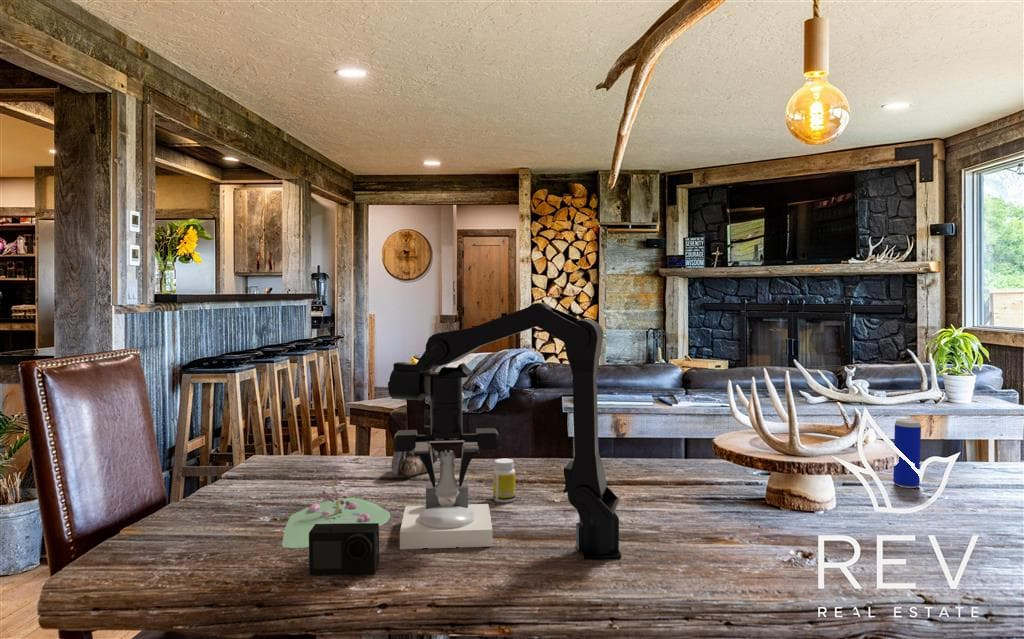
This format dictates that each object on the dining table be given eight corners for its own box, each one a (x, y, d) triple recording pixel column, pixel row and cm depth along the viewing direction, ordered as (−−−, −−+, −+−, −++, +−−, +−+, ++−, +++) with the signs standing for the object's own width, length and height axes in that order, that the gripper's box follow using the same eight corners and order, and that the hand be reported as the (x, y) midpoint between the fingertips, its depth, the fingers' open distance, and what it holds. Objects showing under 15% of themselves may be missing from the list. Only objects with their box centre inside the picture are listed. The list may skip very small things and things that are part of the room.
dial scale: (488, 519, 132) (488, 483, 132) (492, 546, 118) (492, 506, 118) (405, 521, 131) (405, 485, 130) (399, 549, 117) (399, 509, 116)
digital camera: (306, 579, 105) (305, 535, 105) (315, 565, 111) (314, 523, 110) (373, 578, 105) (373, 534, 105) (379, 564, 111) (378, 522, 110)
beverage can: (919, 485, 155) (921, 420, 154) (919, 490, 151) (920, 423, 150) (893, 481, 158) (895, 417, 157) (892, 487, 153) (894, 421, 153)
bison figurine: (389, 482, 158) (432, 480, 158) (387, 452, 158) (430, 450, 158) (400, 469, 170) (439, 467, 170) (398, 441, 170) (438, 439, 170)
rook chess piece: (447, 490, 126) (446, 447, 126) (464, 494, 123) (464, 451, 123) (429, 496, 123) (429, 452, 122) (447, 500, 120) (446, 456, 120)
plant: (366, 553, 116) (365, 502, 116) (249, 550, 118) (248, 499, 118) (400, 506, 141) (400, 464, 141) (304, 504, 143) (303, 462, 142)
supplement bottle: (520, 499, 144) (520, 460, 144) (504, 504, 141) (504, 464, 141) (503, 494, 148) (503, 456, 147) (488, 499, 144) (488, 460, 144)
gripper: (495, 393, 131) (495, 473, 132) (397, 395, 130) (399, 475, 130) (498, 403, 120) (499, 490, 121) (392, 405, 118) (393, 493, 119)
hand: (447, 486), depth 123 cm, fingers closed on rook chess piece, 4 cm apart
